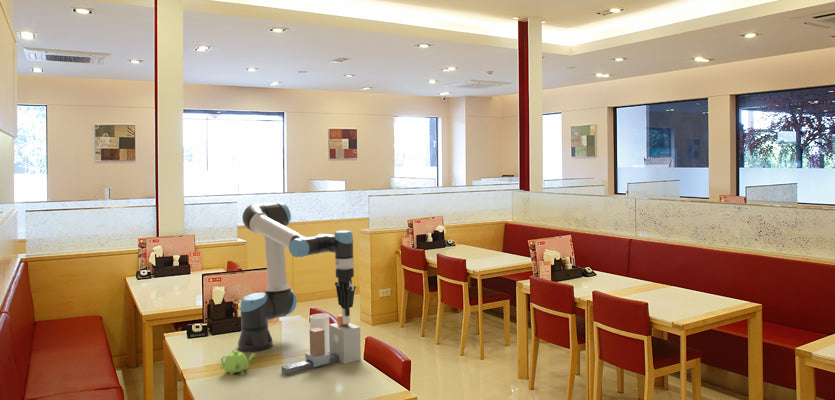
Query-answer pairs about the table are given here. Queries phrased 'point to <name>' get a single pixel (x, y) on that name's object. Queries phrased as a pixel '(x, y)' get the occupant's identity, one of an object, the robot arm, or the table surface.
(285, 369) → the rail
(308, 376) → the table surface
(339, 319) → the block
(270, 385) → the table surface
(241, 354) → the teapot
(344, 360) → the cabinet
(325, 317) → the cup
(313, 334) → the carriage
